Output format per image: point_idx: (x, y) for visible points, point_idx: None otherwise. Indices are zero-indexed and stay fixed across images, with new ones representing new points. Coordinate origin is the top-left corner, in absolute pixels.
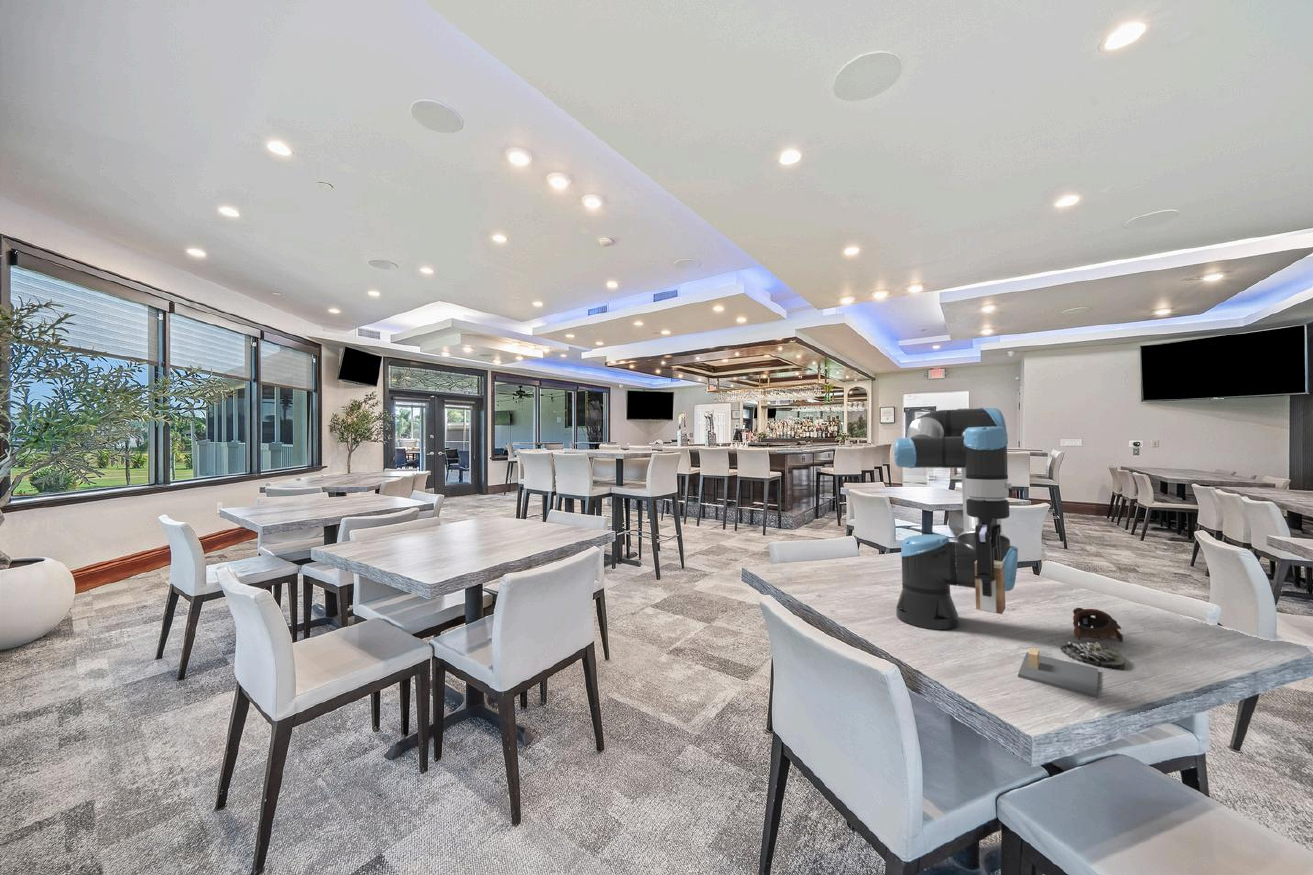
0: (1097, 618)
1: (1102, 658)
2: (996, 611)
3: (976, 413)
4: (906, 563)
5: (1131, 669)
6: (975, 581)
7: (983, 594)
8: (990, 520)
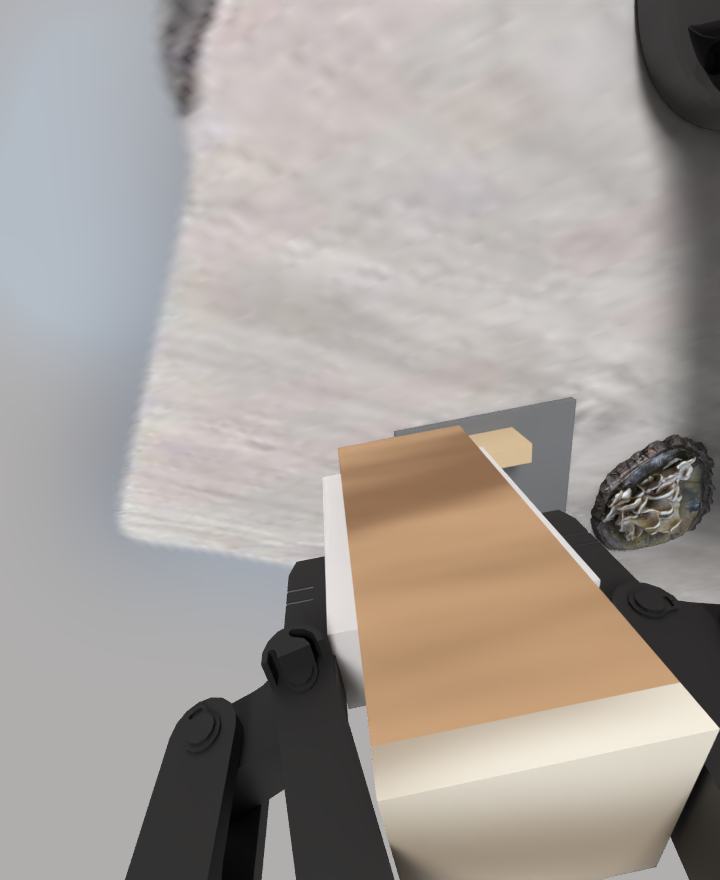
0: None
1: (617, 526)
2: None
3: None
4: None
5: (614, 549)
6: (351, 567)
7: (293, 573)
8: None
